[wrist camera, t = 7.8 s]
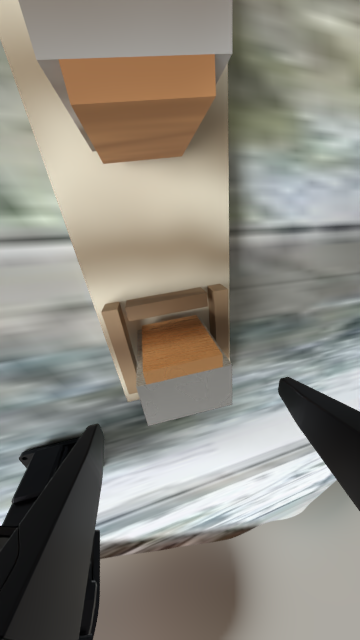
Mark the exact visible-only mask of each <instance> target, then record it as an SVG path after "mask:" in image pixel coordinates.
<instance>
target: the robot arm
mask: <svg viewBox="0 0 360 640" xmlns="http://www.w3.org/2000/svg"><path fill="white" fill-rule="evenodd" d="M278 392H279V395H280V397H281V398H282V400H283V402H284V403H285V405H286V407H287V408H288V410H289V412H290V413H291V415H292V417H293V419H294V420H295V422H296V423H297V425H298V426H299V428H300V429H301V431H302V432H303V433H304V435H305V436H306V437H307V439H308V440H309V442H310V443H311V444H312V446H313V447H314V449H315V450H316V451H317V453H318V454H319V455H320V457H321V458H322V460H323V461H324V462H325V464H326V465H327V467H328V468H329V469H330V471H331V472H332V474H333V475H334V476H335V478H336V479H337V480H338V482H339V483H340V485H341V486H342V487H343V489H344V490H345V492H346V493H347V494H348V495H349V497H350V498H351V500H352V501H353V502H354V504H355V505H356V507H357V508H358V509H359V511H360V411H357V410H355V409H353V408H351V407H349V406H347V405H345V404H343V403H341V402H339V401H337V400H335V399H333V398H331V397H329V396H327V395H325V394H323V393H321V392H319V391H316V390H314V389H312V388H310V387H308V386H306V385H304V384H302V383H300V382H298V381H296V380H294V379H292V378H290V377H285V378H281V379H280V381H279V388H278ZM103 459H104V434H103V432H102V429H101V427H100V425H99V424H93V425H90V426H88V427H87V428H86V430H85V431H84V433H83V434H82V436H81V437H80V438H77V439H73V440H69V441H65V442H61V443H57V444H53V445H49V446H45V447H41V448H37V449H33V450H29V451H25V452H23V453H22V454H21V455H20V457H19V460H20V461H21V462H22V463H23V464H24V466H25V467H26V468H27V469H26V471H25V473H24V476H23V478H22V480H21V482H20V484H19V486H18V488H17V490H16V492H15V494H14V497H13V499H12V505H11V507H10V509H9V511H8V513H7V516H6V518H5V520H4V522H3V524H2V526H0V640H93V636H94V632H95V627H96V622H97V616H98V609H99V597H100V596H99V595H100V530H95V525H96V518H97V511H98V505H99V498H100V491H101V485H102V476H103Z"/></svg>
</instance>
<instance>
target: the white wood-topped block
mask: <svg viewBox="0 0 360 640" xmlns="http://www.w3.org/2000/svg"><path fill="white" fill-rule="evenodd" d="M136 388H137V391H138V395H139V398H140V401H141V404H142V408H143V411H144V414H145V417H146V420H147V424H148V426H150V425H154V424H158V423H162V422H166V421H170V420H174V419H177V418H181V417H185V416H189V415H193V414H197V413H201V412H205V411H209V410H212V409H216V408H220V407H224V406H228V405H232V364H231V363H230V361H229V360H228V358H227V357H226V355H225V354H224V352H223V351H222V349H221V348H220V346H219V345H218V344H217V342H216V341H215V339H214V338H213V336H212V335H211V333H210V332H209V330H208V329H207V327H206V326H205V324H204V323H203V322H202V320H201V319H200V318H198V317H197V315H193V316H188V317H183V318H178V319H173V320H168V321H163V322H158V323H153V324H148V325H143V326H142V329H141V330H138V335H137V373H136Z"/></svg>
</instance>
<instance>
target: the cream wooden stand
mask: <svg viewBox="0 0 360 640" xmlns="http://www.w3.org/2000/svg"><path fill="white" fill-rule="evenodd" d="M0 39H1V42H2V45H3V48H4V50H5V53H6V56H7V59H8V62H9V65H10V67H11V70H12V73H13V76H14V79H15V82H16V85H17V87H18V90H19V93H20V96H21V99H22V102H23V105H24V107H25V110H26V113H27V116H28V119H29V122H30V125H31V127H32V130H33V133H34V136H35V139H36V142H37V145H38V147H39V150H40V153H41V156H42V159H43V162H44V164H45V167H46V170H47V173H48V176H49V179H50V182H51V184H52V187H53V190H54V193H55V196H56V199H57V202H58V204H59V207H60V210H61V213H62V216H63V219H64V222H65V224H66V227H67V230H68V233H69V236H70V239H71V242H72V244H73V247H74V250H75V253H76V256H77V259H78V262H79V264H80V267H81V270H82V273H83V276H84V279H85V281H86V284H87V287H88V290H89V293H90V296H91V299H92V301H93V304H94V307H95V310H96V313H97V316H98V319H99V321H100V324H101V327H102V330H103V333H104V336H105V339H106V341H107V344H108V347H109V350H110V353H111V356H112V359H113V361H114V364H115V367H116V370H117V373H118V376H119V378H120V381H121V384H122V387H123V390H124V393H125V396H126V398H127V401H128V402H130V401H135V400H139V399H140V398H139V395H138V391H137V388H136V373H137V335H138V330H141V329H142V326H143V325H148V324H153V323H158V322H163V321H168V320H173V319H178V318H183V317H188V316H193V315H197V317H198V318H200V319H201V320H202V322H203V323H204V324H205V326H206V327H207V329H208V330H209V332H210V333H211V335H212V336H213V338H214V339H215V341H216V342H217V344H218V345H219V346H220V348H221V349H222V351H223V352H224V354H225V355H226V357H227V358H228V360H229V361H230V300H229V155H228V61H229V59H230V57H231V55H232V0H0Z"/></svg>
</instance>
